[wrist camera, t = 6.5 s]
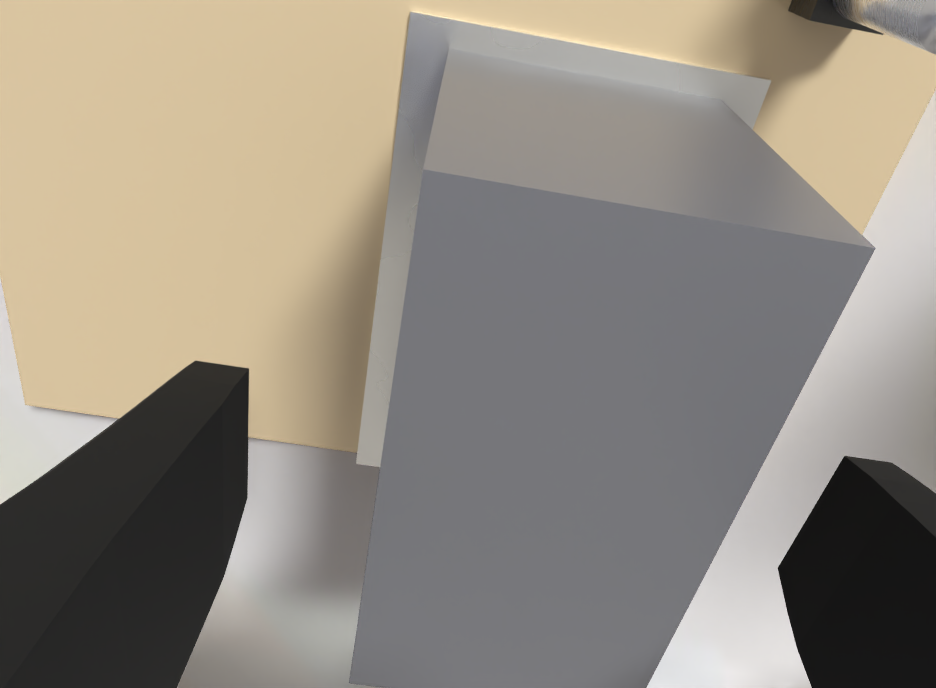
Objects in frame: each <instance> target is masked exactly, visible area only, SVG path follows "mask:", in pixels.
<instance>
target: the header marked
mask: <svg viewBox="0 0 936 688" xmlns="http://www.w3.org/2000/svg"><path fill="white" fill-rule="evenodd" d="M449 49H453V50H458V51H464V52H469V53H474V54H480V55H485V56H490V57H496V58H501V59H506V60H512V61H517V62H522V63H528V64H533V65H538V66H544V67H549V68H554V69H560V70H565V71H570V72H576V73H581V74H586V75H592V76H597V77H602V78H608V79H613V80H618V81H624V82H629V83H634V84H640V85H645V86H650V87H656V88H661V89H666V90H672V91H677V92H682V93H688V94H693V95H698V96H704V97H709V98H714V99H720V100H722V101H723V102H724V103H725V104H726V105H727V106H728V107H729V108H730V109H731V110H733V111H734V112H735V113H736V114H737V115H738V116H739V117H740V118H741V119H742V120H743V121H744V122H745V123H746V124H747V125H748V126H749V127H750V128H751V129H752V130H753V127H754V125H755V122H756V119H757V117H758V114H759V112H760V109H761V106H762V104H763V101H764V99H765V96H766V93H767V91H768V88H769V86H770V83H771V80H770V79H766V78H761V77H756V76H751V75H745V74H740V73H735V72H730V71H725V70H719V69H714V68H709V67H704V66H698V65H693V64H688V63H683V62H677V61H672V60H667V59H662V58H656V57H651V56H646V55H641V54H636V53H630V52H625V51H620V50H615V49H609V48H604V47H599V46H594V45H588V44H583V43H578V42H573V41H567V40H562V39H557V38H552V37H547V36H541V35H536V34H531V33H526V32H520V31H515V30H510V29H505V28H499V27H494V26H489V25H484V24H478V23H473V22H468V21H463V20H457V19H452V18H447V17H442V16H437V15H431V14H426V13H421V12H416V11H411V12H410V20H409V28H408V36H407V44H406V53H405V61H404V69H403V78H402V86H401V94H400V103H399V111H398V119H397V127H396V136H395V144H394V152H393V161H392V169H391V177H390V185H389V194H388V202H387V210H386V219H385V227H384V235H383V244H382V252H381V260H380V268H379V277H378V285H377V293H376V302H375V310H374V318H373V327H372V335H371V343H370V351H369V360H368V368H367V376H366V385H365V393H364V401H363V409H362V418H361V426H360V434H359V443H358V451H357V459H356V464H360V465H367V466H374V467H380V465H381V458H382V451H383V444H384V437H385V430H386V423H387V416H388V409H389V402H390V395H391V388H392V382H393V375H394V368H395V361H396V354H397V347H398V340H399V333H400V326H401V319H402V312H403V305H404V298H405V291H406V285H407V278H408V271H409V264H410V257H411V250H412V243H413V236H414V229H415V222H416V215H417V208H418V201H419V194H420V187H421V181H422V174H423V168H424V163H425V158H426V154H427V149H428V144H429V140H430V135H431V130H432V126H433V121H434V116H435V112H436V107H437V102H438V97H439V93H440V88H441V83H442V79H443V74H444V69H445V65H446V60H447V55H448V51H449Z"/></svg>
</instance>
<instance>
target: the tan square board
mask: <svg viewBox="0 0 936 688" xmlns="http://www.w3.org/2000/svg"><path fill="white" fill-rule="evenodd" d="M791 1H792V0H0V277H1V282H2V287H3V292H4V298H5V303H6V308H7V313H8V318H9V323H10V328H11V334H12V339H13V344H14V349H15V354H16V359H17V364H18V370H19V375H20V380H21V385H22V390H23V395H24V400H25V405H29V406H36V407H43V408H50V409H57V410H64V411H71V412H78V413H84V414H91V415H98V416H105V417H112V418H121V417H122V416H123V415H125V414H126V413H127V412H128V411H130V410H131V409H132V408H134V407H135V406H136V405H137V404H139V403H140V402H141V401H143V400H144V399H145V398H146V397H148V396H149V395H150V394H151V393H153V392H154V391H155V390H157V389H158V388H159V387H160V386H162V385H163V384H164V383H165V382H167V381H168V380H169V379H171V378H172V377H173V376H175V375H176V374H177V373H178V372H180V371H181V370H182V369H184V368H185V367H186V366H188V365H189V364H191V363H192V362H194V361H202V362H209V363H216V364H223V365H229V366H236V367H243V368H249V412H248V437H250V438H257V439H264V440H271V441H278V442H285V443H292V444H299V445H306V446H313V447H320V448H326V449H333V450H340V451H347V452H354V453H357V451H358V443H359V434H360V426H361V418H362V409H363V401H364V393H365V385H366V376H367V368H368V360H369V351H370V343H371V335H372V327H373V318H374V310H375V302H376V293H377V285H378V277H379V268H380V260H381V252H382V244H383V235H384V227H385V219H386V210H387V202H388V194H389V185H390V177H391V169H392V161H393V152H394V144H395V136H396V127H397V119H398V111H399V103H400V94H401V86H402V78H403V69H404V61H405V53H406V44H407V36H408V28H409V20H410V12H411V11H416V12H421V13H426V14H431V15H437V16H442V17H447V18H452V19H457V20H463V21H468V22H473V23H478V24H484V25H489V26H494V27H499V28H505V29H510V30H515V31H520V32H526V33H531V34H536V35H541V36H547V37H552V38H557V39H562V40H567V41H573V42H578V43H583V44H588V45H594V46H599V47H604V48H609V49H615V50H620V51H625V52H630V53H636V54H641V55H646V56H651V57H656V58H662V59H667V60H672V61H677V62H683V63H688V64H693V65H698V66H704V67H709V68H714V69H719V70H725V71H730V72H735V73H740V74H745V75H751V76H756V77H761V78H766V79H770V80H771V83H770V86H769V88H768V91H767V93H766V96H765V99H764V101H763V104H762V106H761V109H760V112H759V114H758V117H757V119H756V122H755V125H754V127H753V131H754V132H755V133H756V134H757V135H758V136H760V137H761V138H762V139H763V140H764V141H765V142H766V143H767V144H768V145H769V146H770V147H771V148H772V149H773V150H774V151H775V152H776V153H777V154H778V155H779V156H780V157H781V158H782V159H783V160H784V161H786V162H787V163H788V164H789V165H790V166H791V167H792V168H793V169H794V170H795V171H796V172H797V173H798V174H799V175H800V176H801V177H802V178H803V179H804V180H805V181H806V182H807V183H808V184H809V185H810V186H811V187H813V188H814V189H815V190H816V191H817V192H818V193H819V194H820V195H821V196H822V197H823V198H824V199H825V200H826V201H827V202H828V203H829V204H830V205H831V206H832V207H833V208H834V209H835V210H836V211H837V212H838V213H840V214H841V215H842V216H843V217H844V218H845V219H846V220H847V221H848V222H849V223H850V224H851V225H852V226H853V227H854V228H855V229H856V230H857V231H858V232H859V233H860V234H861V235H862V234H863V232H864V230H865V228H866V226H867V224H868V222H869V220H870V218H871V216H872V214H873V212H874V210H875V208H876V206H877V204H878V202H879V200H880V198H881V196H882V194H883V192H884V190H885V188H886V186H887V184H888V182H889V180H890V178H891V176H892V174H893V172H894V170H895V168H896V166H897V165H898V163H899V161H900V159H901V157H902V155H903V153H904V151H905V149H906V147H907V145H908V143H909V141H910V139H911V137H912V135H913V133H914V131H915V129H916V127H917V125H918V123H919V121H920V119H921V117H922V115H923V113H924V111H925V109H926V107H927V105H928V103H929V101H930V99H931V97H932V95H933V93H934V91H935V89H936V54H933V53H930V52H928V51H925V50H923V49H920V48H918V47H915V46H913V45H911V44H908V43H906V42H903V41H901V40H898V39H896V38H893V37H891V36H888V35H886V34H883V35H880V34H875V33H870V32H865V31H860V30H854V29H849V28H844V27H839V26H834V25H829V24H824V23H819V22H814V21H809V20H807V19H805V18H803V17H800V16H798V15H796V14H794V13H792V12H789V11H788V9H789V6H790V4H791Z"/></svg>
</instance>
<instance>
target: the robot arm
mask: <svg viewBox="0 0 936 688" xmlns="http://www.w3.org/2000/svg"><path fill="white" fill-rule="evenodd" d="M248 412H249V368H243V367H236V366H229V365H223V364H216V363H209V362H202V361H194V362H192V363H191V364H189V365H188V366H186V367H185V368H184V369H182V370H181V371H180V372H178V373H177V374H176V375H175V376H173V377H172V378H171V379H169V380H168V381H167V382H165V383H164V384H163V385H162V386H160V387H159V388H158V389H157V390H155V391H154V392H153V393H151V394H150V395H149V396H148V397H146V398H145V399H144V400H143V401H141V402H140V403H139V404H137V405H136V406H135V407H134V408H132V409H131V410H130V411H128V412H127V413H126V414H125V415H123V416H122V417H121V418H119V419H118V420H117V421H116V422H114V423H113V424H112V425H110V426H109V427H108V428H106V429H105V430H104V431H103V432H101V433H100V434H99V435H97V436H96V437H94V438H93V439H92V440H90V441H89V442H88V443H86V444H85V445H84V446H82V447H81V448H80V449H78V450H77V451H75V452H74V453H73V454H71V455H70V456H69V457H67V458H66V459H65V460H63V461H62V462H61V463H59V464H58V465H56V466H55V467H54V468H52V469H51V470H50V471H48V472H47V473H46V474H44V475H43V476H41V477H40V478H39V479H37V480H36V481H34V482H33V483H31V484H30V485H29V486H27V487H26V488H24V489H23V490H21V491H20V492H18V493H17V494H15V495H14V496H12V497H11V498H9V499H8V500H6V501H5V502H3V503H2V504H0V688H177V686H178V683H179V681H180V679H181V676H182V674H183V672H184V669H185V667H186V665H187V662H188V660H189V658H190V655H191V653H192V651H193V648H194V646H195V644H196V641H197V639H198V637H199V634H200V632H201V630H202V627H203V625H204V623H205V620H206V618H207V615H208V613H209V611H210V608H211V606H212V604H213V601H214V599H215V597H216V594H217V592H218V589H219V587H220V585H221V582H222V580H223V577H224V574H225V571H226V568H227V565H228V561H229V558H230V555H231V552H232V548H233V545H234V542H235V538H236V535H237V531H238V528H239V525H240V521H241V518H242V514H243V511H244V507H245V504H246V500H247V480H248ZM778 571H779V576H780V580H781V585H782V589H783V594H784V598H785V603H786V607H787V612H788V616H789V619H790V623H791V627H792V631H793V634H794V638H795V642H796V646H797V649H798V652H799V654H800V657H801V660H802V663H803V665H804V668H805V671H806V673H807V676H808V678H809V681H810V684H811V686H812V688H936V494H935V493H934V492H933V491H931V490H930V489H929V488H927V487H926V486H925V485H923V484H922V483H921V482H919V481H918V480H916V479H915V478H914V477H912V476H911V475H909V474H908V473H906V472H905V471H903V470H902V469H900V468H899V467H897V466H896V465H894V464H893V463H889V462H882V461H876V460H869V459H862V458H855V457H848V456H844V458H843V459H842V461H841V463H840V465H839V466H838V468H837V470H836V471H835V473H834V475H833V476H832V478H831V480H830V481H829V483H828V485H827V486H826V488H825V490H824V491H823V493H822V495H821V496H820V498H819V500H818V501H817V503H816V505H815V507H814V508H813V510H812V512H811V513H810V515H809V517H808V518H807V520H806V522H805V523H804V525H803V527H802V528H801V530H800V532H799V533H798V535H797V537H796V538H795V540H794V542H793V544H792V545H791V547H790V549H789V550H788V552H787V554H786V555H785V557H784V559H783V560H782V562H781V564H780V565H779V567H778Z"/></svg>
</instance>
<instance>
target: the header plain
mask: <svg viewBox="0 0 936 688" xmlns="http://www.w3.org/2000/svg"><path fill="white" fill-rule="evenodd" d="M788 11H789V12H792V13H794V14H796V15H798V16H800V17H803V18H805V19H807V20H809V21H814V22H819V23H824V24H829V25H834V26H839V27H844V28H849V29H854V30H860V31H865V32H870V33H875V34H880V35H883V34H886V35H888V36H891V37H893V38H896V39H898V40H901V41H903V42H906V43H908V44H911V45H913V46H915V47H918V48H920V49H923V50H925V51H928V52H930V53H933V54H936V0H792V1H791V4H790V6H789V9H788Z"/></svg>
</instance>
